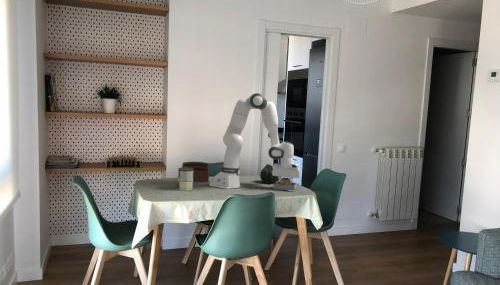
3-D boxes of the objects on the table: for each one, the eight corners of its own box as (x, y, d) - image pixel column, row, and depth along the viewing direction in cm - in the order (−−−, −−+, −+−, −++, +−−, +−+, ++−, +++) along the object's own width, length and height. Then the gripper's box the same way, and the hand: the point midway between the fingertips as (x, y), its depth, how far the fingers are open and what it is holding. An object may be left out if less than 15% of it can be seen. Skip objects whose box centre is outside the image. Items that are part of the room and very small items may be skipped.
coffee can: (174, 188, 280) (175, 167, 279) (187, 186, 287) (187, 166, 286) (183, 191, 273) (184, 170, 271) (195, 189, 280) (196, 169, 279)
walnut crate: (280, 186, 293) (280, 179, 293) (282, 183, 302) (283, 177, 301) (287, 187, 292) (288, 180, 291) (290, 184, 300) (290, 178, 300)
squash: (281, 178, 308) (279, 161, 317) (262, 178, 306) (260, 161, 315) (278, 187, 320) (276, 171, 329) (259, 188, 318) (257, 171, 326)
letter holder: (181, 179, 313) (182, 161, 311) (207, 179, 316) (208, 161, 315) (181, 182, 303) (182, 163, 302) (208, 182, 307) (209, 163, 305)
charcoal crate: (273, 189, 293) (273, 184, 292) (277, 186, 305) (277, 181, 305) (293, 191, 289) (294, 186, 288) (296, 188, 301) (297, 183, 301)
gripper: (271, 163, 295) (270, 182, 296) (299, 166, 290) (298, 185, 291) (273, 162, 301) (272, 180, 302) (301, 165, 296) (299, 183, 297)
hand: (285, 183), depth 297 cm, fingers open, 6 cm apart
